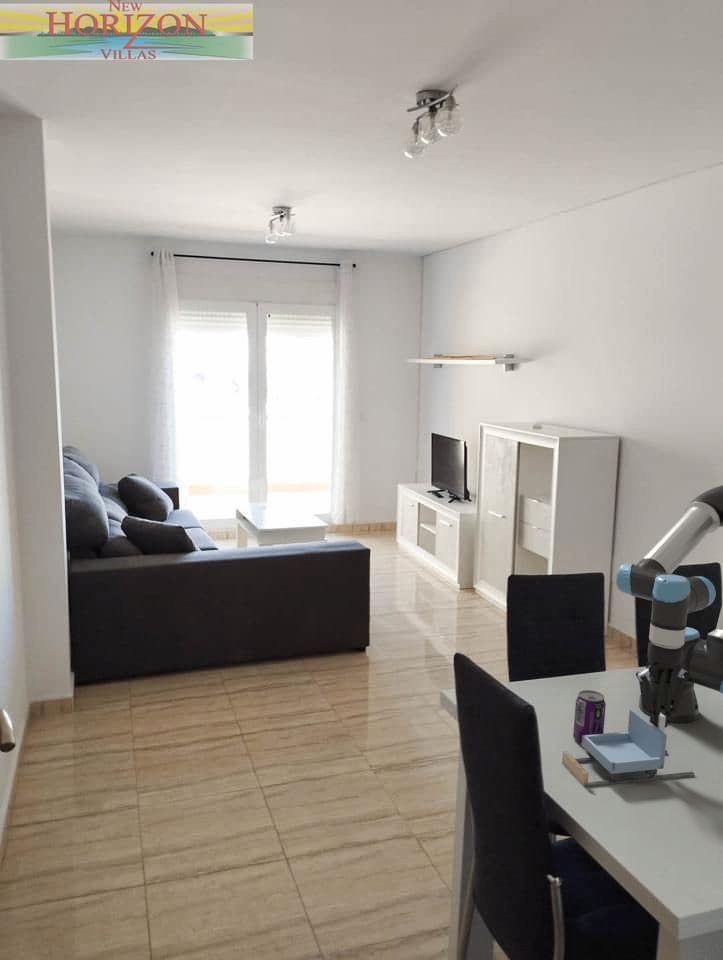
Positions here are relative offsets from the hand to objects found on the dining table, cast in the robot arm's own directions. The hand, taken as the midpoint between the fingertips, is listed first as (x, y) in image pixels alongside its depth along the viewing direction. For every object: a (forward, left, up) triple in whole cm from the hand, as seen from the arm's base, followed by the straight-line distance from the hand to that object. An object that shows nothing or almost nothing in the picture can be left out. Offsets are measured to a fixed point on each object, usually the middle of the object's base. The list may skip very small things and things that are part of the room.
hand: (656, 740), depth 176 cm
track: (+7, 0, -7) cm, 9 cm away
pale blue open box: (+9, 0, -7) cm, 11 cm away
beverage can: (+9, -14, -7) cm, 18 cm away
